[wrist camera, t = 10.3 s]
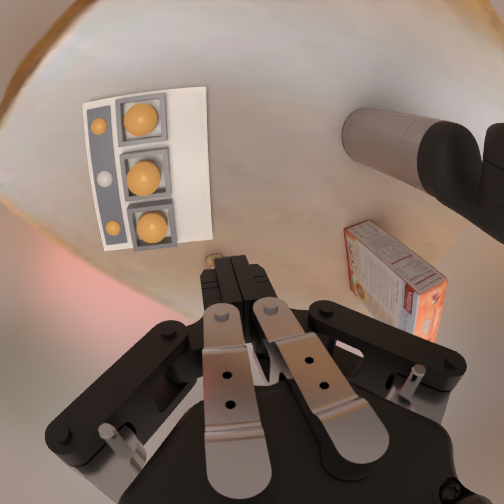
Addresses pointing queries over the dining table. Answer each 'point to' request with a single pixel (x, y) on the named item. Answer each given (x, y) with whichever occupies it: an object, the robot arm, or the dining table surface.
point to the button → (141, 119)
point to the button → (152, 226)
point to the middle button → (143, 178)
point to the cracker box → (394, 281)
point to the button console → (161, 153)
